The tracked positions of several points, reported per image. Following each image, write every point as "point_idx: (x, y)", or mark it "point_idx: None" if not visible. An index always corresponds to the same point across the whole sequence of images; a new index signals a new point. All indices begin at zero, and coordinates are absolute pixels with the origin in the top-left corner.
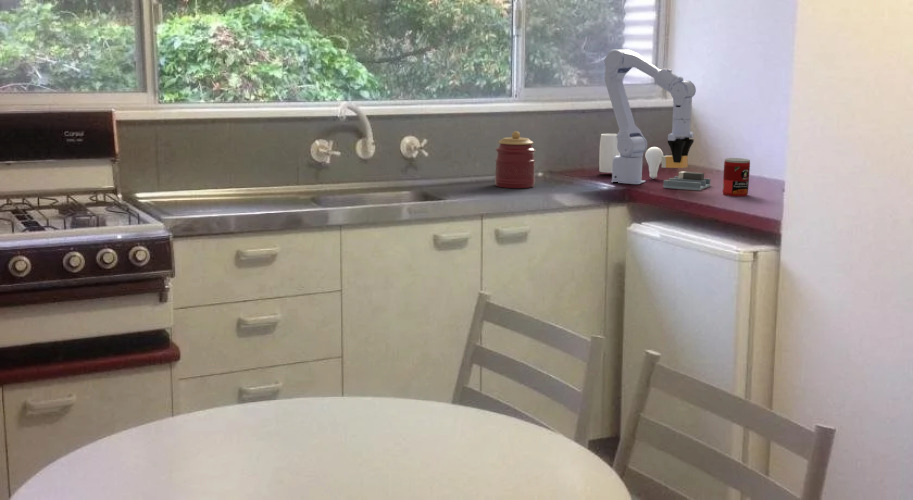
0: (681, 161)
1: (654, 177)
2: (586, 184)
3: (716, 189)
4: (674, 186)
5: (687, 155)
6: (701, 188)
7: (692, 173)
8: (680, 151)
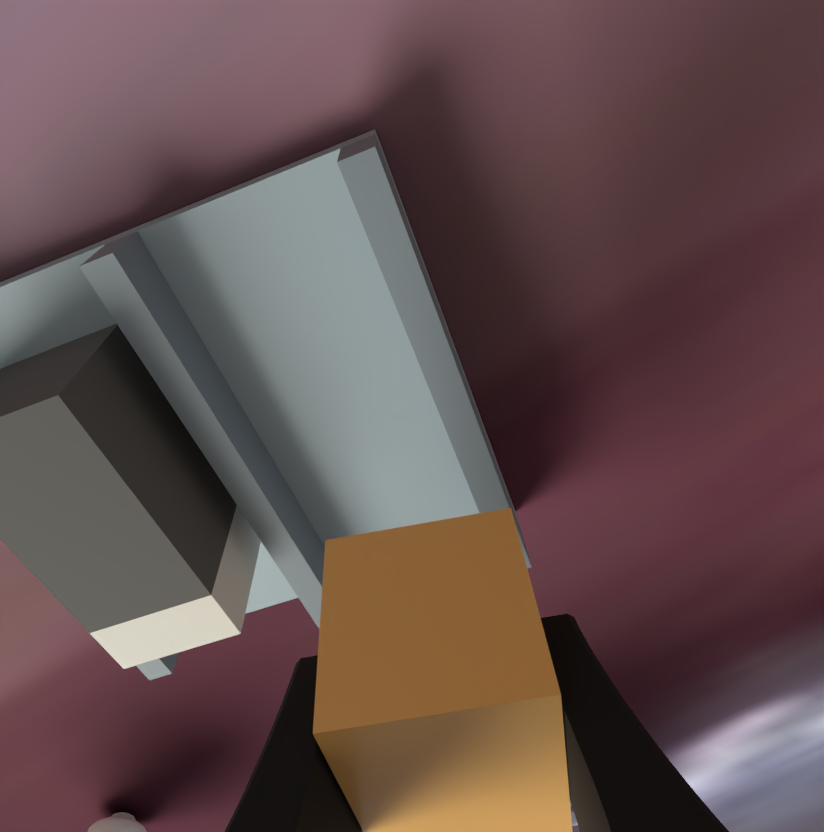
0: (539, 616)
1: (126, 817)
2: (767, 823)
3: (48, 47)
4: (485, 432)
5: (266, 758)
6: (300, 161)
7: (142, 503)
8: (718, 822)
